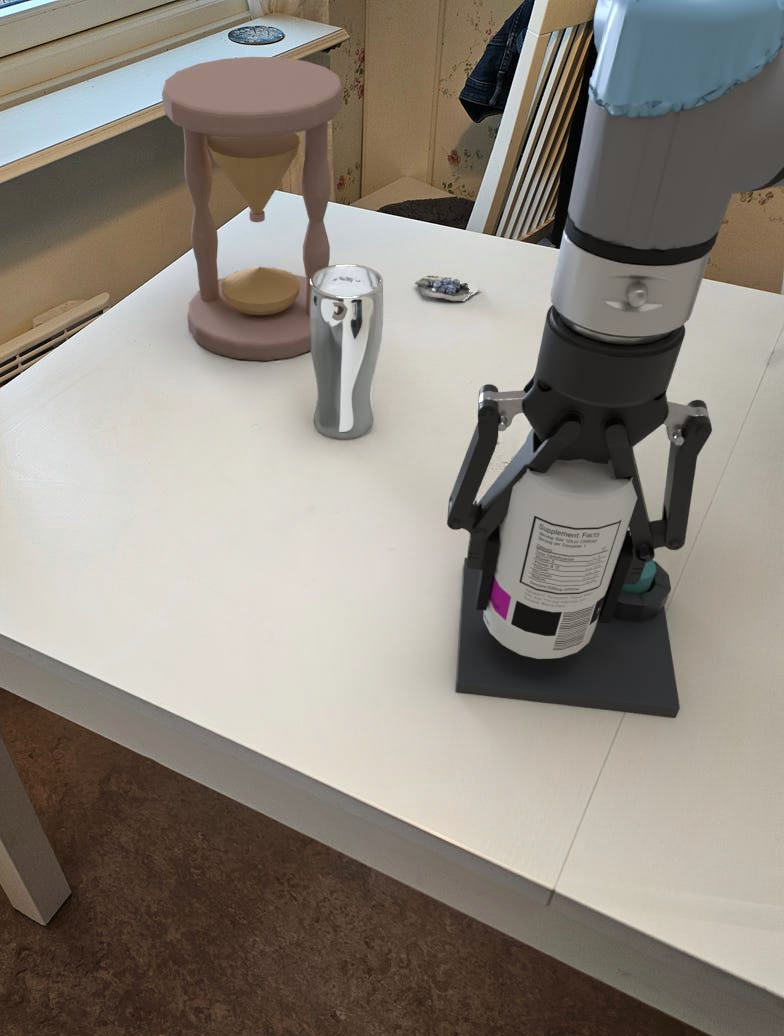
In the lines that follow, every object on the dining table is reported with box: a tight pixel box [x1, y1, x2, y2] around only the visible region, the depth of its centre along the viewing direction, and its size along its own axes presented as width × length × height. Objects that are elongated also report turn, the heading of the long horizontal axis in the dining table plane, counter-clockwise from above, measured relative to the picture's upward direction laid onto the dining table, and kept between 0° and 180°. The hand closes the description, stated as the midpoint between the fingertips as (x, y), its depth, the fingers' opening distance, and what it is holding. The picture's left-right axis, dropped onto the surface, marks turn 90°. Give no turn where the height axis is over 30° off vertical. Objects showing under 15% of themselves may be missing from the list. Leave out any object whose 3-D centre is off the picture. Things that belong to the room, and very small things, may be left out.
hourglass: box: [161, 56, 343, 362], centre depth 97 cm, size 18×18×25 cm
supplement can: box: [484, 459, 637, 659], centre depth 62 cm, size 8×8×15 cm
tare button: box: [621, 559, 656, 594], centre depth 71 cm, size 3×3×2 cm
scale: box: [454, 557, 681, 719], centre depth 70 cm, size 16×15×3 cm
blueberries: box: [414, 274, 473, 302], centre depth 110 cm, size 7×8×2 cm
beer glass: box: [308, 263, 384, 440], centre depth 86 cm, size 7×7×15 cm
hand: (542, 603), depth 66 cm, fingers closed on supplement can, 8 cm apart
